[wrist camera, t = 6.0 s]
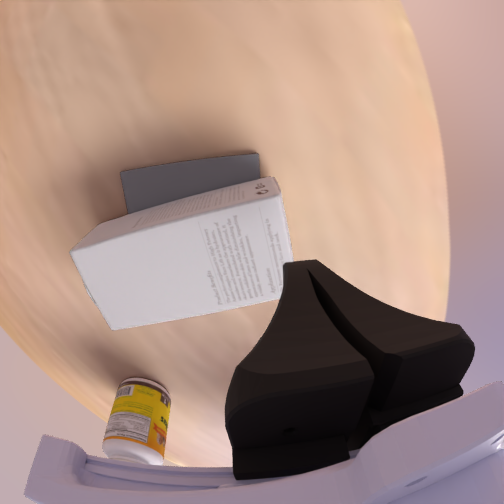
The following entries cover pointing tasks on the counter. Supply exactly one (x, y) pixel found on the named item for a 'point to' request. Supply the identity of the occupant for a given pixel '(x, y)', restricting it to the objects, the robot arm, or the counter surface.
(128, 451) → the supplement bottle
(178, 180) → the mat
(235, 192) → the skincare box
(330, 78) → the counter surface
